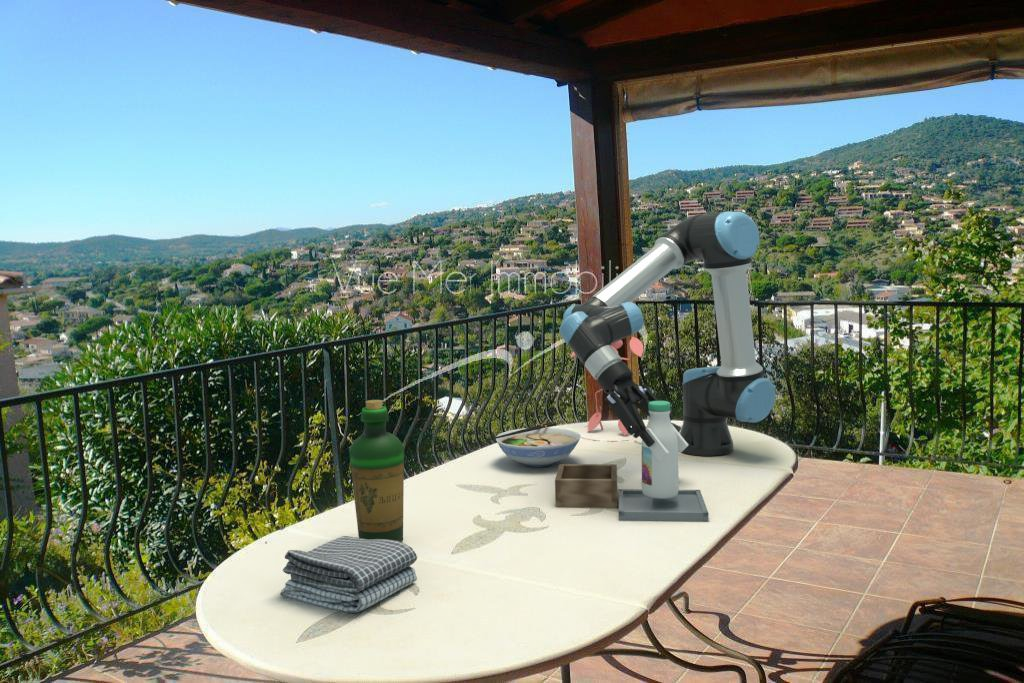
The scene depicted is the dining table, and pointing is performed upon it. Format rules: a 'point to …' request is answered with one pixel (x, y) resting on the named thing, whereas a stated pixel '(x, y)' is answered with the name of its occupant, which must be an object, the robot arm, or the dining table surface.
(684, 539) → the dining table surface
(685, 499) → the tray
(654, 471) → the milk bottle
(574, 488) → the holder
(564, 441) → the ramen bowl
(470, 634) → the dining table surface
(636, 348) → the figurine
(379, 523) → the bottle
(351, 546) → the towel
